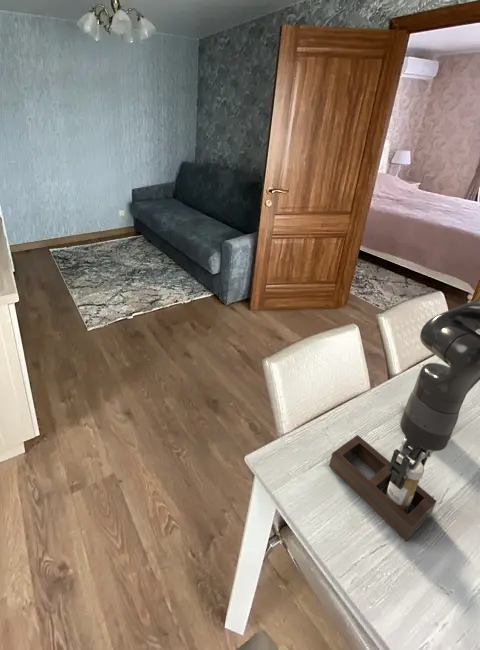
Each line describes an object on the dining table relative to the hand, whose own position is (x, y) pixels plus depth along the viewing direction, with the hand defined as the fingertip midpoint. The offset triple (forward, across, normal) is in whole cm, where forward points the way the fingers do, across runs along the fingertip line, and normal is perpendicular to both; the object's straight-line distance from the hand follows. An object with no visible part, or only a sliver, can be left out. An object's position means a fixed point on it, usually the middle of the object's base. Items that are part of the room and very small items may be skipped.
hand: (406, 475), depth 71 cm
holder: (+10, 0, +4) cm, 11 cm away
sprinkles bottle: (+10, 0, 0) cm, 10 cm away
